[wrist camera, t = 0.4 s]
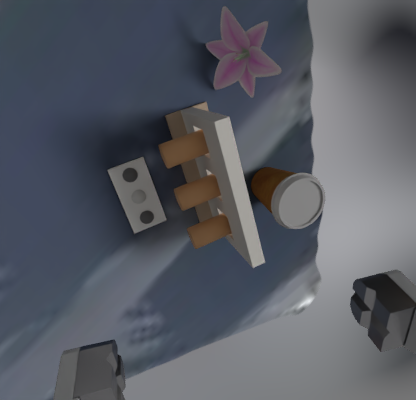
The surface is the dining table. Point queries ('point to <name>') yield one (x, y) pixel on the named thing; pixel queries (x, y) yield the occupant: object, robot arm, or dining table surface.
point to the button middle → (197, 192)
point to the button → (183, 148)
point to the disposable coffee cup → (289, 196)
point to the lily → (240, 54)
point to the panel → (220, 176)
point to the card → (137, 194)
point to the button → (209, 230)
